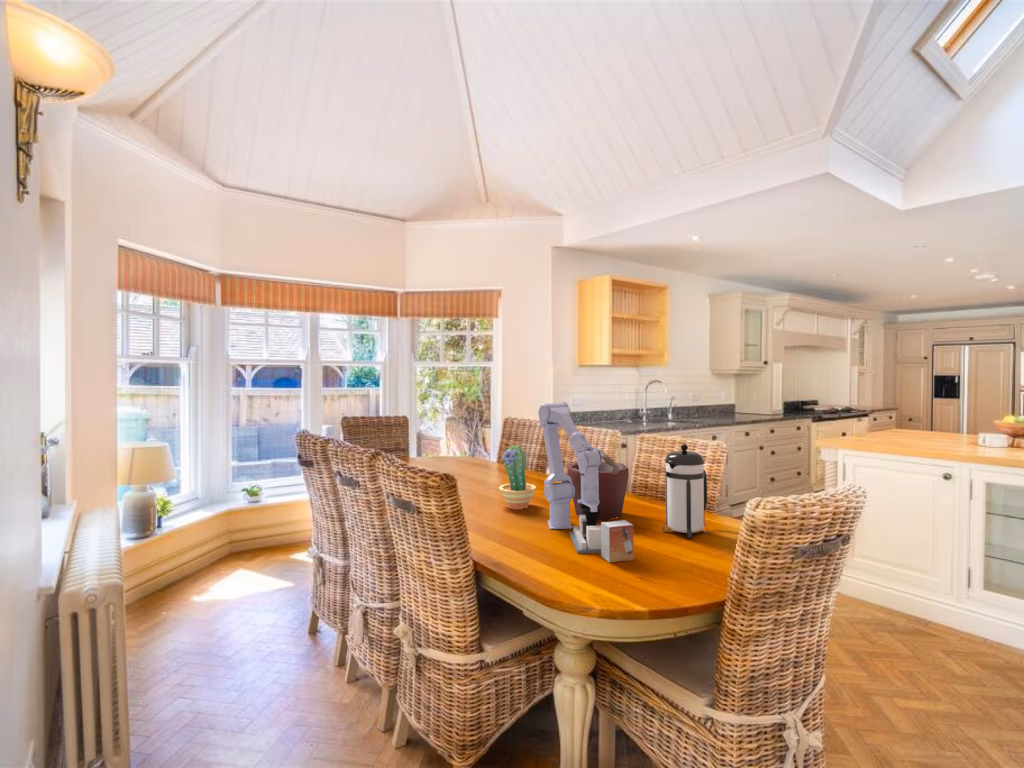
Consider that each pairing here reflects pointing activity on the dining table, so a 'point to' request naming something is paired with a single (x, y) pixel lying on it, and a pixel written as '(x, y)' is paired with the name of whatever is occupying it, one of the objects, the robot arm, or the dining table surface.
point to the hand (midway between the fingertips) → (590, 528)
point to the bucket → (604, 487)
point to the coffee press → (685, 492)
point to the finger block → (583, 524)
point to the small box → (617, 541)
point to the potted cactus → (516, 479)
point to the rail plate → (587, 539)
